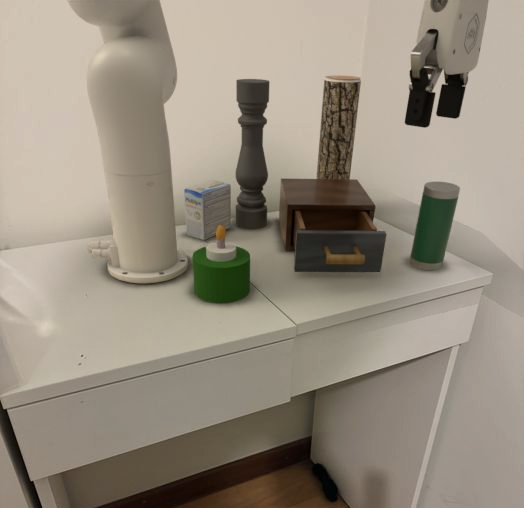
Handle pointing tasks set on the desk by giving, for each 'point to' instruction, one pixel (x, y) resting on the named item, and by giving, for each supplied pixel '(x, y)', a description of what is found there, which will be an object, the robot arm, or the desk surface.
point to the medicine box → (207, 208)
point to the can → (434, 225)
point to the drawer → (336, 241)
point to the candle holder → (252, 153)
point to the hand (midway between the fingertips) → (432, 121)
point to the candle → (221, 271)
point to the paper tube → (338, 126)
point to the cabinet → (319, 200)
